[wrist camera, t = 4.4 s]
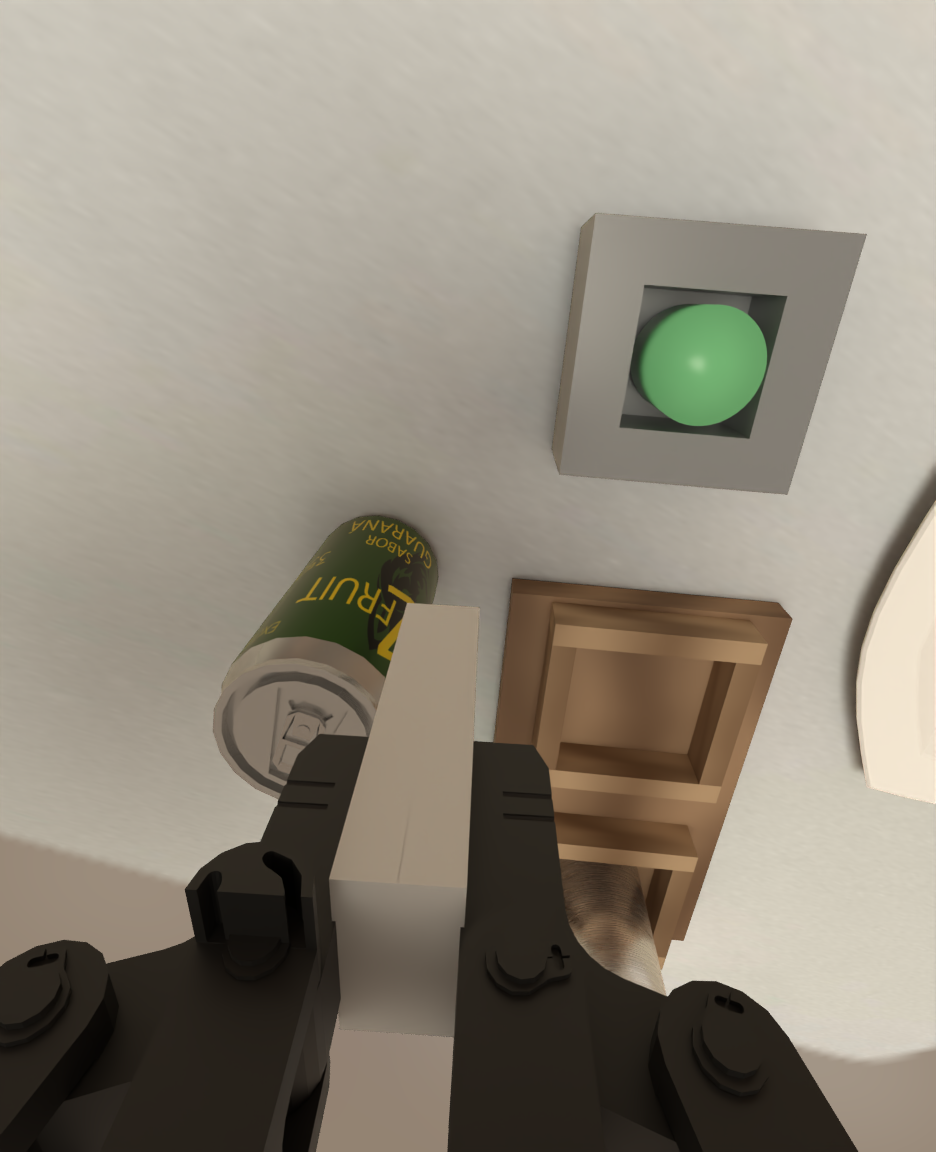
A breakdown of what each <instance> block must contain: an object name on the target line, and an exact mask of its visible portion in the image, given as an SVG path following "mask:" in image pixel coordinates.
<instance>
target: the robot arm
mask: <svg viewBox="0 0 936 1152" xmlns="http://www.w3.org/2000/svg"><path fill="white" fill-rule="evenodd" d="M478 629H479V607H467V606H450V605H433V604H416V603H407V605H406V609H405V612H404V616H403V619H402V623H401V626H400V630H399V633H398V637H397V640H396V644H395V648H394V651H393V655H392V658H391V662H390V665H389V669H388V672H387V676H386V679H385V683H384V686H383V690H382V693H381V697H380V701H379V704H378V708H377V711H376V715H375V718H374V722H373V725H372V729H371V732H370V736H369V737H364V736H348V735H332V734H319V735H318V736H317V737H316V738H315V739H313V740H312V741H311V742H310V743H309V744H308V745H307V746H306V747H305V748H304V749H303V750H302V751H301V752H300V753H299V754H298V755H297V757H296V760H295V762H294V764H293V767H292V769H291V771H290V774H289V776H288V778H287V784H286V785H284V788H283V790H282V792H281V795H280V797H279V799H278V805H277V807H275V809H274V811H273V813H272V816H271V818H270V820H269V823H268V825H267V827H266V830H265V832H264V834H263V837H262V839H261V841H260V842H256V843H246V844H243V845H241V846H238V847H235V848H233V849H230V850H228V851H225V852H223V853H221V854H220V855H218V856H217V857H215V858H214V859H213V860H211V861H210V862H209V863H207V864H206V865H205V866H203V867H202V868H201V869H200V870H199V871H198V872H197V874H196V875H195V876H194V878H193V879H192V880H191V882H190V883H189V884H188V886H187V887H186V888H185V893H186V897H187V902H188V907H189V911H190V916H191V921H192V925H193V930H194V935H195V937H193V938H191V939H189V940H187V941H186V942H184V943H182V944H178V945H176V946H173V947H170V948H167V949H164V950H160V951H156V952H152V953H148V954H144V955H140V956H136V957H132V958H128V959H123V960H119V961H116V962H111V963H108V964H106V963H105V960H104V957H103V954H102V953H101V952H100V951H98V950H97V949H95V948H94V947H93V946H91V945H90V944H88V943H87V942H78V941H69V940H62V941H57V942H53V943H49V944H45V945H40V946H36V947H34V948H32V949H30V950H28V951H26V952H25V953H23V954H21V955H19V956H17V957H15V958H13V959H11V960H9V961H7V962H6V963H4V964H3V965H2V966H1V967H0V1152H316V1148H317V1143H318V1138H319V1133H320V1128H321V1123H322V1119H323V1114H324V1109H325V1104H326V1099H327V1095H328V1089H329V1079H330V1056H329V1050H330V1046H331V1042H332V1037H333V1032H334V1028H335V1023H336V1019H337V1014H339V1029H344V1030H357V1031H372V1032H386V1033H401V1034H415V1035H429V1036H443V1037H445V1036H446V1037H454V1046H453V1065H452V1082H451V1097H450V1114H449V1133H448V1152H858V1150H857V1149H856V1147H855V1145H854V1144H853V1142H852V1141H851V1139H850V1137H849V1136H848V1134H847V1132H846V1131H845V1129H844V1127H843V1126H842V1124H841V1123H840V1121H839V1119H838V1118H837V1116H836V1114H835V1113H834V1111H833V1109H832V1108H831V1106H830V1104H829V1103H828V1101H827V1100H826V1098H825V1096H824V1095H823V1093H822V1091H821V1090H820V1088H819V1087H818V1085H817V1083H816V1081H815V1080H814V1078H813V1077H812V1075H811V1073H810V1072H809V1070H808V1069H807V1067H806V1065H805V1063H804V1062H803V1060H802V1059H801V1057H800V1055H799V1054H798V1052H797V1050H796V1049H795V1047H794V1045H793V1044H792V1042H791V1041H790V1039H789V1037H788V1036H787V1035H786V1033H785V1032H784V1031H783V1030H782V1028H781V1027H780V1026H779V1025H778V1023H777V1022H776V1021H775V1020H774V1018H773V1017H772V1016H771V1015H770V1013H769V1012H768V1011H767V1010H766V1009H765V1008H763V1007H762V1006H761V1005H759V1004H758V1003H757V1002H755V1001H754V1000H753V999H751V998H750V997H749V996H747V995H746V994H745V993H743V992H742V991H739V990H737V989H734V988H732V987H729V986H727V985H724V984H722V983H719V982H716V981H691V982H689V983H686V984H684V985H682V986H680V987H678V988H676V989H674V990H672V992H671V993H670V995H669V996H665V995H663V994H660V993H658V992H656V991H653V990H651V989H648V988H646V987H643V986H641V985H638V984H636V983H633V982H631V981H629V980H626V979H624V978H622V977H620V976H618V975H616V974H614V973H612V972H611V971H609V970H607V969H605V968H604V967H603V966H601V965H600V964H599V963H598V962H597V961H595V960H594V959H593V958H592V957H590V956H589V954H588V953H587V952H586V951H585V949H584V948H583V947H582V946H581V945H580V943H579V942H578V941H577V939H576V937H575V935H574V933H573V931H572V929H571V927H570V925H569V922H568V918H567V914H566V910H565V902H564V893H563V885H562V876H561V868H560V859H559V851H558V842H557V834H556V825H555V822H554V808H553V800H552V791H551V783H550V774H549V768H548V766H547V765H546V763H545V762H544V760H543V759H542V757H541V756H540V754H539V753H538V751H537V750H536V748H535V747H534V745H525V744H509V743H493V742H477V741H473V740H474V718H475V696H476V674H477V651H478Z"/></svg>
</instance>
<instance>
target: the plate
mask: <svg viewBox="0 0 936 1152" xmlns="http://www.w3.org/2000/svg"><path fill="white" fill-rule="evenodd" d="M856 719H857V727H858V735H859V743H860V751H861V757H862V763H863V769H864V775H865V781H866V785H867V787H869V788H872V789H876V790H880V791H883V792H887V793H891V794H894V795H898V796H902V797H906V798H911V799H915V800H920V801H924V802H929V803H933V804H936V500H935V502H934V503H933V505H932V507H931V508H930V510H929V511H928V513H927V515H926V516H925V518H924V519H923V521H922V523H921V524H920V526H919V528H918V529H917V531H916V533H915V534H914V536H913V538H912V539H911V541H910V543H909V544H908V546H907V548H906V549H905V551H904V553H903V554H902V556H901V558H900V560H899V561H898V563H897V565H896V566H895V568H894V570H893V572H892V574H891V576H890V578H889V580H888V582H887V584H886V586H885V588H884V590H883V592H882V594H881V597H880V599H879V601H878V603H877V605H876V607H875V609H874V611H873V614H872V617H871V620H870V623H869V626H868V629H867V632H866V635H865V638H864V641H863V644H862V647H861V653H860V659H859V665H858V671H857V678H856Z"/></svg>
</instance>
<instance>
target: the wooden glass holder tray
mask: <svg viewBox="0 0 936 1152" xmlns="http://www.w3.org/2000/svg"><path fill="white" fill-rule="evenodd" d="M791 622H792V618H791V617H790V615H789V614H788V613H787V612H786V611H785V610H784V609H783V608H782V606H781V605H780V604H779V603H774V602H763V601H753V600H742V599H731V598H720V597H709V596H698V595H687V594H677V593H666V592H655V591H644V590H633V589H622V588H611V587H601V586H590V585H579V584H568V583H557V582H546V581H535V580H525V579H514V578H512V586H511V595H510V604H509V612H508V621H507V630H506V638H505V647H504V656H503V664H502V673H501V682H500V690H499V699H498V708H497V716H496V725H495V734H494V742H493V743H509V744H525V745H534V747H535V748H536V750H537V751H538V753H539V754H540V756H541V757H542V759H543V760H544V762H545V763H546V765H547V766H548V768H549V774H550V783H551V791H552V800H553V808H554V822H555V825H556V834H557V842H558V851H559V859H569V860H578V861H588V862H598V863H608V864H617V865H627V866H637V869H638V873H639V878H640V882H641V886H642V891H643V895H644V899H645V904H646V908H647V913H648V917H649V921H650V926H651V930H652V934H653V939H654V943H655V948H656V952H657V956H658V961H659V965H660V969H661V970H662V968H663V965H664V962H665V959H666V955H667V952H668V949H669V946H670V943H671V940H681V941H684V938H685V935H686V932H687V929H688V926H689V923H690V920H691V917H692V914H693V911H694V908H695V905H696V902H697V900H698V897H699V894H700V891H701V888H702V885H703V882H704V879H705V876H706V873H707V870H708V867H709V864H710V861H711V858H712V855H713V852H714V849H715V846H716V843H717V840H718V837H719V835H720V832H721V829H722V826H723V823H724V820H725V817H726V814H727V811H728V808H729V805H730V802H731V799H732V796H733V793H734V790H735V787H736V784H737V781H738V778H739V775H740V772H741V769H742V767H743V764H744V761H745V758H746V755H747V752H748V749H749V746H750V743H751V740H752V737H753V734H754V731H755V728H756V725H757V722H758V719H759V716H760V713H761V710H762V707H763V704H764V702H765V699H766V696H767V693H768V690H769V687H770V684H771V681H772V678H773V675H774V672H775V669H776V666H777V663H778V660H779V657H780V654H781V651H782V648H783V645H784V642H785V639H786V636H787V634H788V631H789V628H790V625H791Z"/></svg>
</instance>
